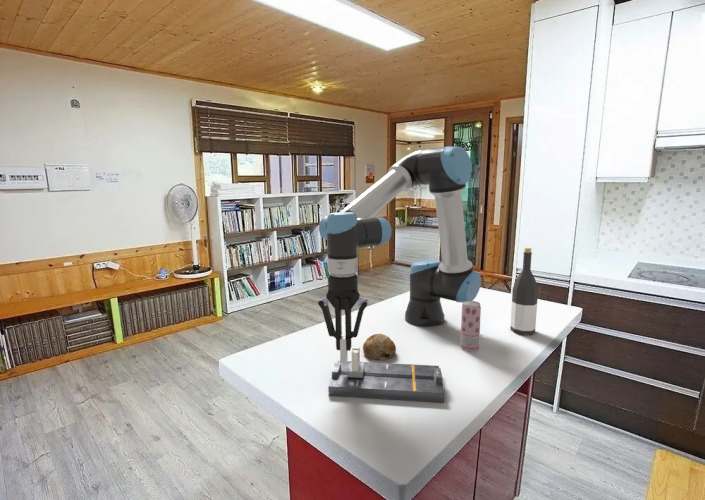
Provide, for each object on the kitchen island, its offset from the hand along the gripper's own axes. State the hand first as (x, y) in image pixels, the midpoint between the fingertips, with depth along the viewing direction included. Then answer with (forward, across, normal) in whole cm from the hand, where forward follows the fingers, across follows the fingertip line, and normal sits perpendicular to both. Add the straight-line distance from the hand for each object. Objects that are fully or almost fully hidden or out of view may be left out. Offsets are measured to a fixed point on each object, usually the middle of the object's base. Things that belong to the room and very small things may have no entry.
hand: (344, 361), depth 98 cm
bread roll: (+6, +8, +19) cm, 21 cm away
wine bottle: (+6, +58, +43) cm, 72 cm away
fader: (+3, +3, 0) cm, 4 cm away
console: (+6, +11, 0) cm, 13 cm away
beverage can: (+6, +36, +26) cm, 45 cm away
